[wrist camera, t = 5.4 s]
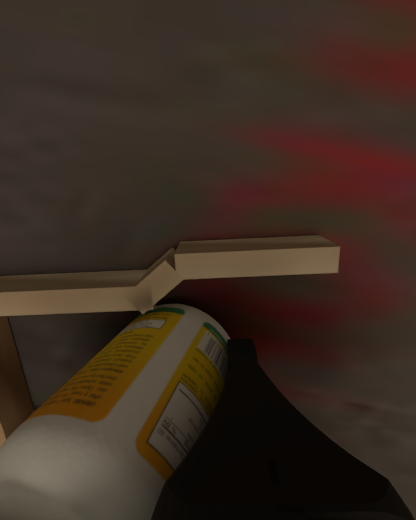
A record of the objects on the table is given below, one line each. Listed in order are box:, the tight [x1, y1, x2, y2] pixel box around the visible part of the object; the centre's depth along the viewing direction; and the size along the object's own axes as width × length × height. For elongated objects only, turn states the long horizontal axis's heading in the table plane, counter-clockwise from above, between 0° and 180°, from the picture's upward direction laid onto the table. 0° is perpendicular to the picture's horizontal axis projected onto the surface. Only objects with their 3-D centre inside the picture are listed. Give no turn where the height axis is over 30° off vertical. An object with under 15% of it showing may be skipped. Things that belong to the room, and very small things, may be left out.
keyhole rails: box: [0, 235, 340, 448], centre depth 13 cm, size 11×16×2 cm
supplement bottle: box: [0, 304, 230, 520], centre depth 9 cm, size 5×5×10 cm
